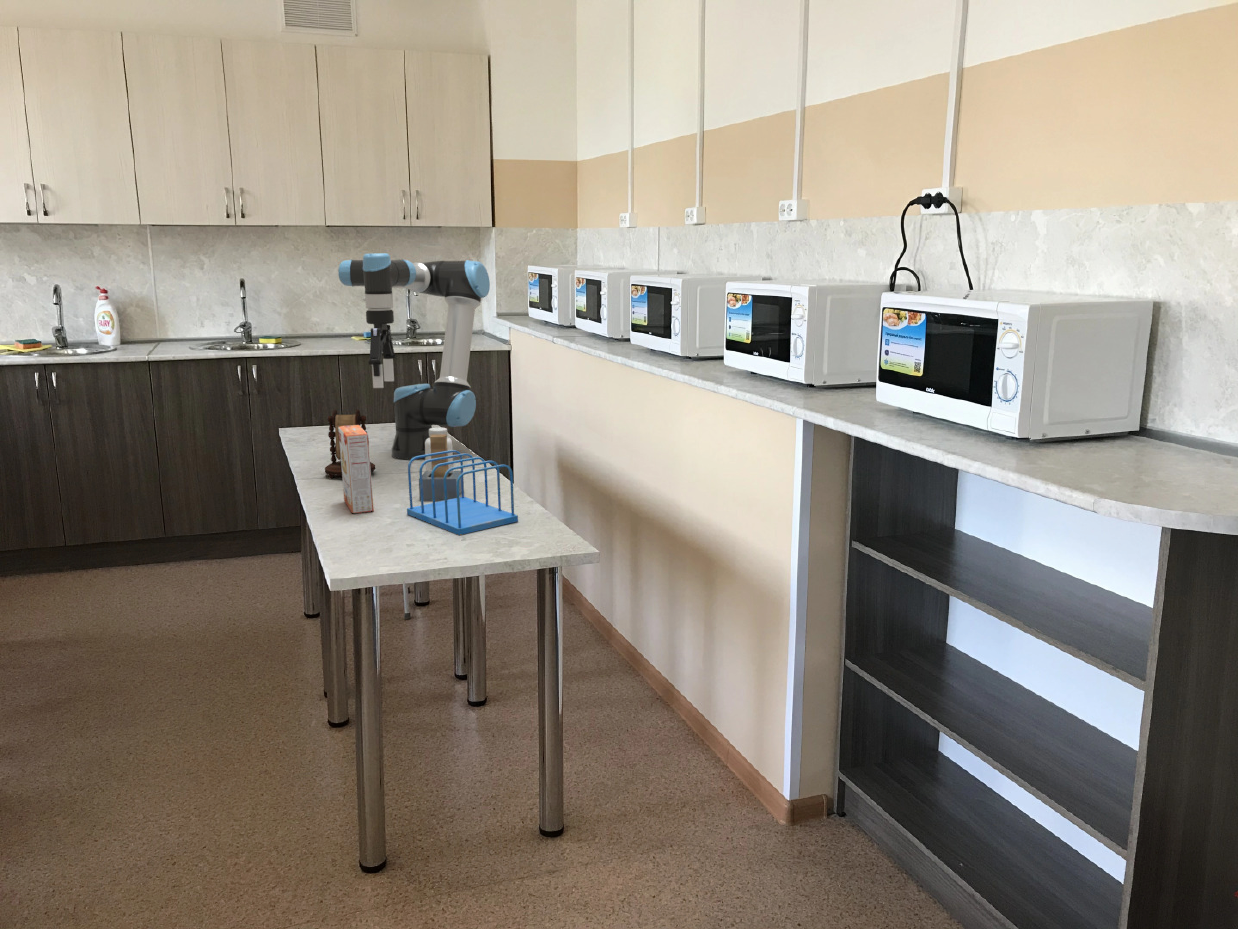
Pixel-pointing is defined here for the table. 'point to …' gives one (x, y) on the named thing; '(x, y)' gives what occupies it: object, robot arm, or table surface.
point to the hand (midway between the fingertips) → (383, 384)
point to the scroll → (335, 447)
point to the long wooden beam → (439, 445)
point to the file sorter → (461, 500)
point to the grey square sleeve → (440, 486)
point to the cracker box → (356, 468)
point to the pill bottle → (428, 446)
